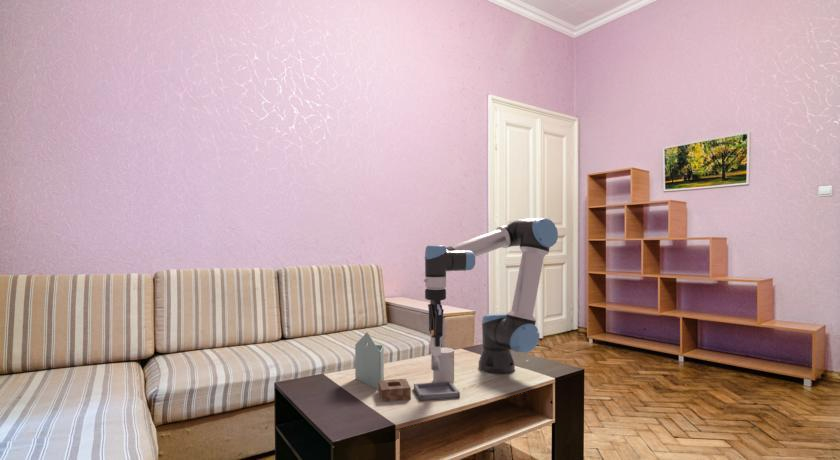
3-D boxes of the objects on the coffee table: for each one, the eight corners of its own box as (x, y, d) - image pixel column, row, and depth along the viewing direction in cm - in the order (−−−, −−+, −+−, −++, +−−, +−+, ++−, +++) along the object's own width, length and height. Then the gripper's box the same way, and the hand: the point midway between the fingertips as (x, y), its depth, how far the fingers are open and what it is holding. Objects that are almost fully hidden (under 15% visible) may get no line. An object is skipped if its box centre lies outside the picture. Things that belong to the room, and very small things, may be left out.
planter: (396, 384, 167) (396, 332, 167) (379, 389, 162) (379, 335, 162) (371, 374, 179) (371, 326, 180) (354, 379, 174) (354, 328, 174)
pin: (430, 368, 159) (430, 329, 159) (438, 367, 160) (438, 329, 160) (432, 370, 156) (432, 331, 156) (440, 370, 157) (440, 330, 157)
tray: (450, 386, 165) (450, 381, 165) (459, 397, 154) (459, 392, 154) (413, 388, 162) (413, 383, 162) (420, 400, 151) (420, 395, 151)
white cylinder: (452, 385, 166) (452, 353, 166) (431, 384, 168) (431, 352, 168) (455, 378, 174) (455, 348, 174) (435, 377, 176) (434, 347, 176)
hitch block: (405, 389, 162) (405, 378, 162) (410, 399, 152) (410, 387, 152) (378, 391, 160) (378, 380, 160) (381, 401, 150) (381, 389, 150)
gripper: (420, 286, 166) (420, 348, 165) (430, 291, 150) (430, 360, 150) (440, 285, 167) (440, 347, 167) (451, 290, 151) (451, 359, 151)
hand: (435, 353), depth 158 cm, fingers closed on pin, 3 cm apart
